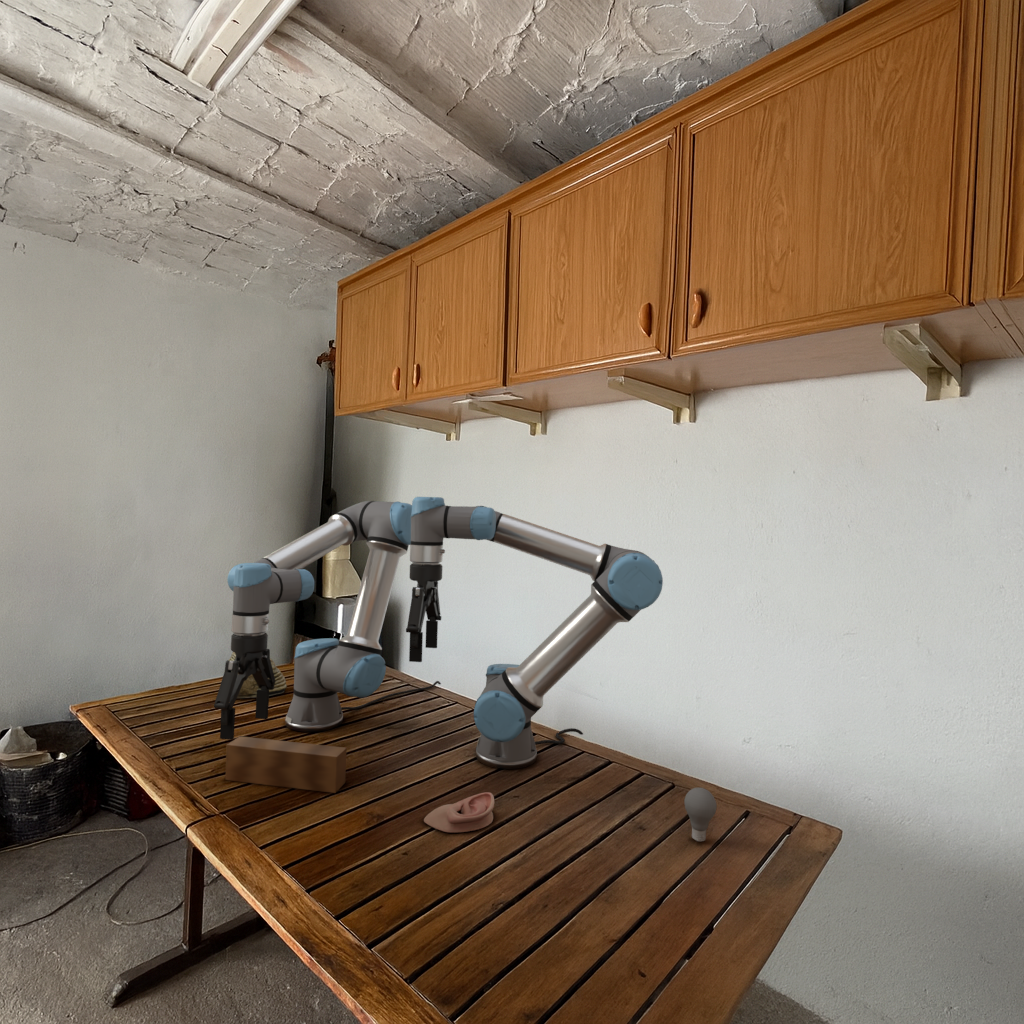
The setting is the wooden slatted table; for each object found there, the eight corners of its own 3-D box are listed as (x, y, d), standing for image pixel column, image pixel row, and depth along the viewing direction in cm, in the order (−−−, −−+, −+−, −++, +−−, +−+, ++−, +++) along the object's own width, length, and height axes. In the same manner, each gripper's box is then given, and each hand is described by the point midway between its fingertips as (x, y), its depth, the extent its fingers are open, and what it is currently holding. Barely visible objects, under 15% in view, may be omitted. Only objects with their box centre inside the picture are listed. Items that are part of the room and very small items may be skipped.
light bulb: (678, 831, 125) (680, 781, 125) (707, 831, 126) (709, 782, 126) (689, 848, 119) (691, 796, 119) (719, 848, 120) (722, 796, 120)
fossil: (218, 695, 195) (220, 647, 195) (278, 685, 208) (279, 640, 207) (228, 703, 189) (230, 653, 188) (289, 692, 201) (290, 645, 201)
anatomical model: (419, 808, 122) (437, 782, 134) (418, 828, 122) (437, 801, 134) (485, 817, 120) (499, 791, 131) (484, 838, 120) (498, 810, 131)
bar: (225, 780, 140) (226, 744, 139) (238, 770, 145) (240, 736, 144) (335, 793, 136) (336, 756, 135) (345, 782, 141) (346, 747, 141)
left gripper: (232, 645, 128) (227, 750, 128) (293, 624, 153) (288, 712, 153) (198, 642, 129) (193, 746, 129) (264, 622, 154) (259, 709, 154)
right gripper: (427, 569, 134) (425, 669, 134) (454, 559, 159) (451, 643, 159) (393, 567, 135) (391, 666, 135) (424, 557, 160) (422, 641, 160)
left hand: (245, 728), depth 141 cm, fingers open, 13 cm apart
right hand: (423, 654), depth 147 cm, fingers open, 13 cm apart
